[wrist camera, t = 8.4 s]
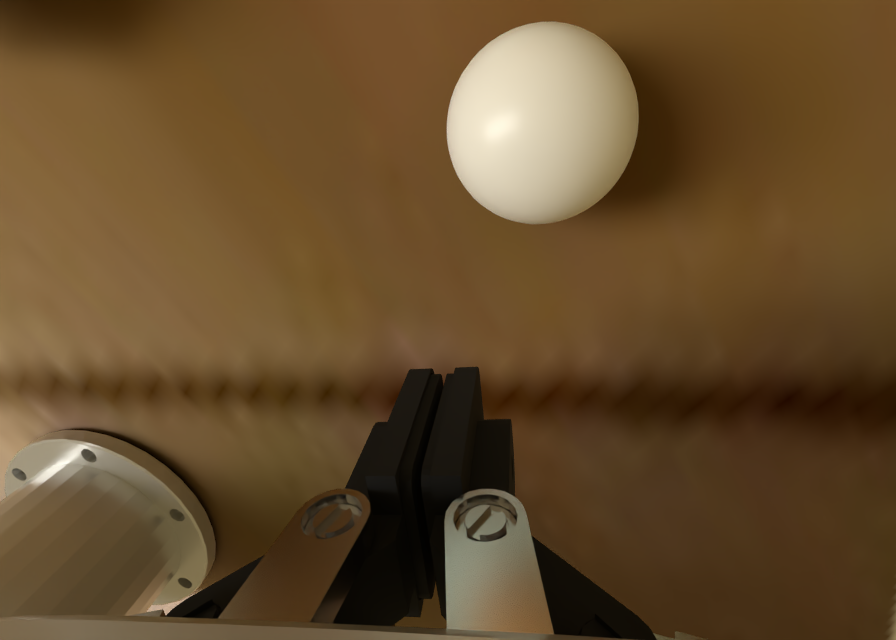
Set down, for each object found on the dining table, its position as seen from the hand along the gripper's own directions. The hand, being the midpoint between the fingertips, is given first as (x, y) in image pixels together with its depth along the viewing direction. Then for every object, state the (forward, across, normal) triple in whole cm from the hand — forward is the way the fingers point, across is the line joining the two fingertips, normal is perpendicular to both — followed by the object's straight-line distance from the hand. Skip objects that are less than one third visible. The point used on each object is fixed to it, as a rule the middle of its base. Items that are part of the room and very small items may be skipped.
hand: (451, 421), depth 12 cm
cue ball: (+6, -3, -6) cm, 9 cm away
